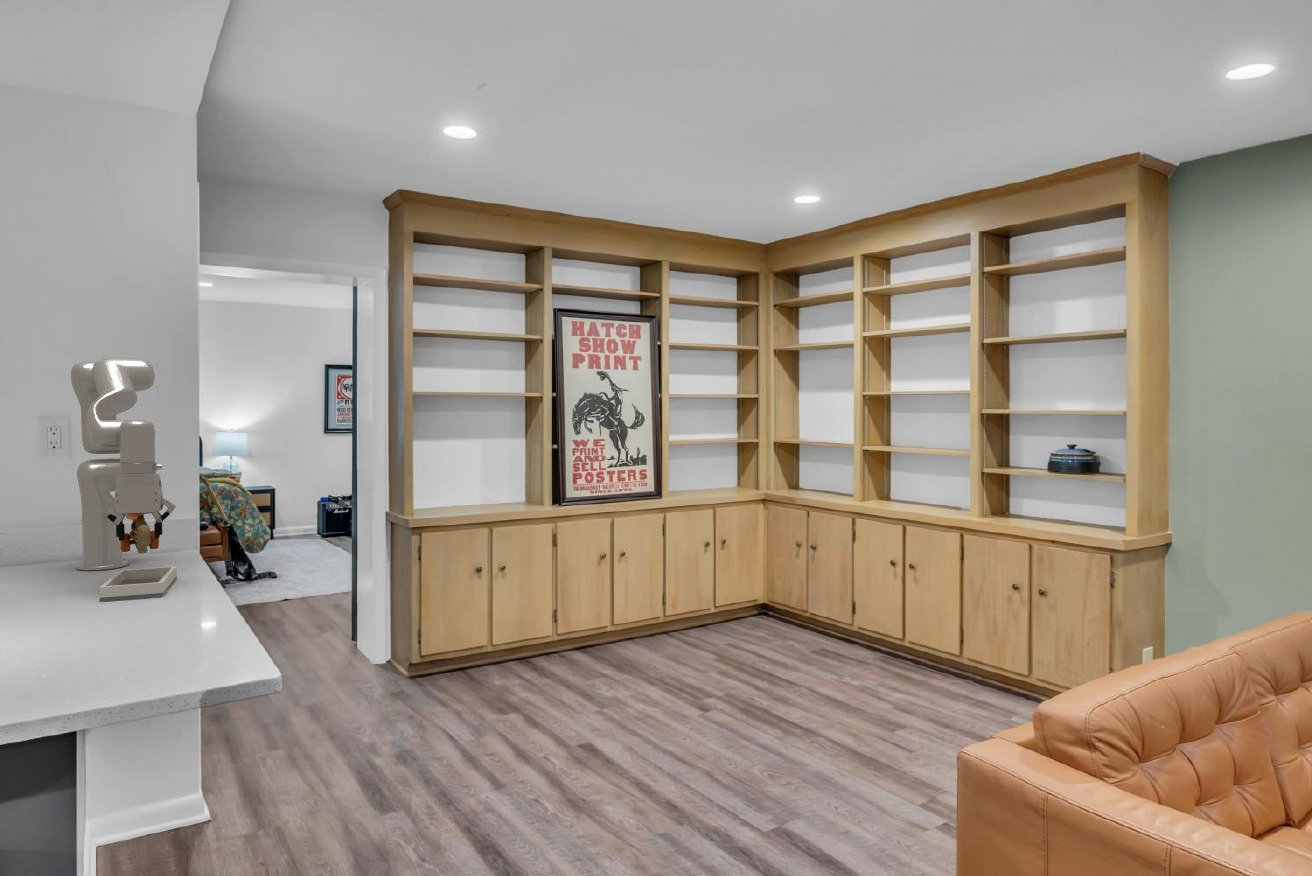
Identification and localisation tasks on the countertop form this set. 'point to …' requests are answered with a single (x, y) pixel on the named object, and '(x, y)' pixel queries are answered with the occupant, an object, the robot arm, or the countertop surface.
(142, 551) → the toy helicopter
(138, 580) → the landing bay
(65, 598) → the countertop surface
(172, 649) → the countertop surface
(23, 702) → the countertop surface
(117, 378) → the robot arm
